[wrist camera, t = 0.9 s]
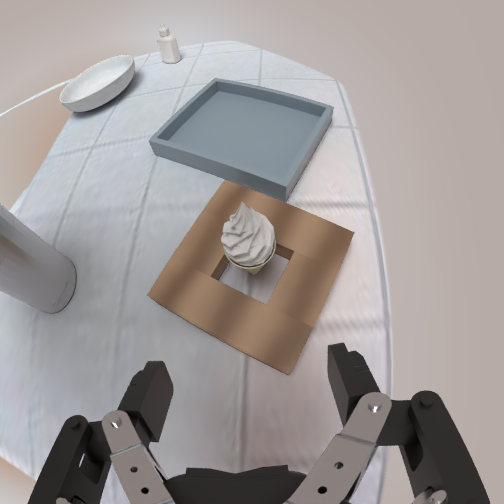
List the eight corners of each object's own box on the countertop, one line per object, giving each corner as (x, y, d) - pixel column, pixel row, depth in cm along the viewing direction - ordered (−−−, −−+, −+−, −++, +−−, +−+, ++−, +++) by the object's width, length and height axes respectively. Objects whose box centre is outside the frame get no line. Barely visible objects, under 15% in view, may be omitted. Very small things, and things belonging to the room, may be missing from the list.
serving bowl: (144, 66, 62) (137, 46, 55) (137, 103, 53) (127, 80, 47) (79, 91, 61) (71, 74, 55) (61, 134, 52) (48, 114, 46)
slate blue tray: (154, 154, 45) (148, 140, 42) (217, 91, 52) (215, 78, 48) (285, 202, 39) (286, 186, 36) (331, 121, 46) (333, 106, 42)
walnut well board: (156, 302, 34) (147, 295, 31) (228, 192, 40) (225, 179, 37) (287, 374, 29) (289, 374, 27) (348, 243, 36) (354, 232, 33)
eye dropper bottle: (166, 66, 59) (155, 29, 48) (162, 60, 62) (151, 25, 51) (182, 61, 60) (173, 23, 49) (177, 55, 62) (168, 20, 51)
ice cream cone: (260, 247, 36) (252, 167, 23) (283, 278, 34) (290, 210, 21) (226, 267, 35) (198, 196, 22) (247, 301, 33) (230, 244, 20)
